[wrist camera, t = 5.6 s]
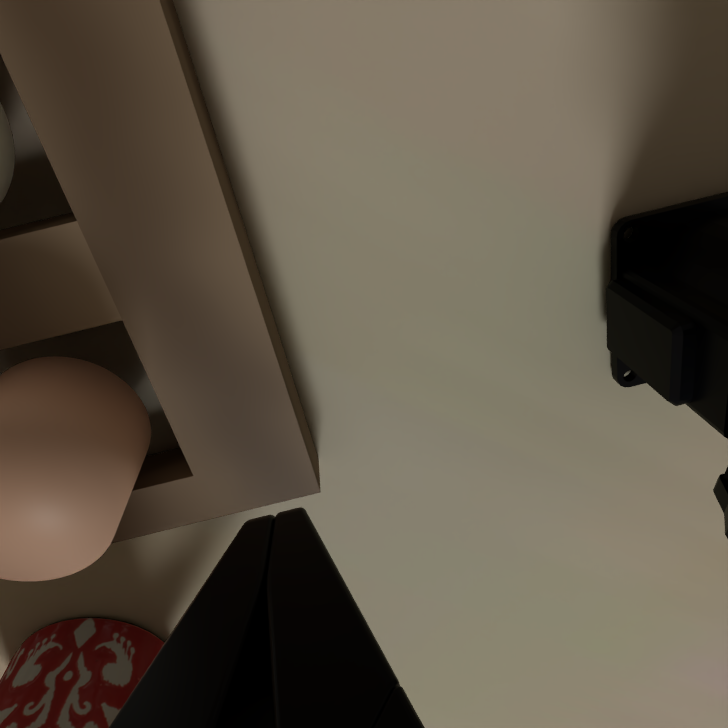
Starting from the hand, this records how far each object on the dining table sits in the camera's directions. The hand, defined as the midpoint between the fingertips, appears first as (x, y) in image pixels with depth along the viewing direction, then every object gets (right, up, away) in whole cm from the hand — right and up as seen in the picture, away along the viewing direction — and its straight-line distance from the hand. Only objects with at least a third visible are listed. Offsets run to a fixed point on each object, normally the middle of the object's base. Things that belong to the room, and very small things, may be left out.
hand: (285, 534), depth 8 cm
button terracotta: (-8, 0, +10) cm, 13 cm away
